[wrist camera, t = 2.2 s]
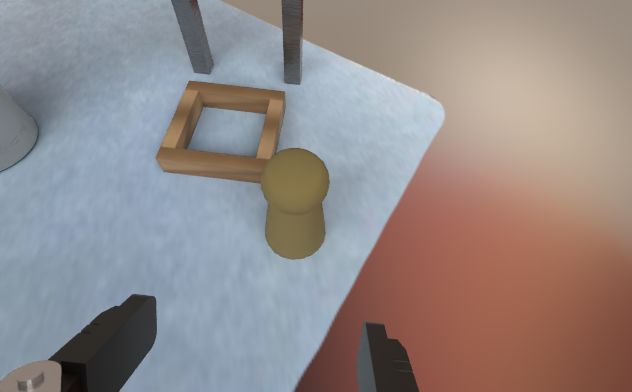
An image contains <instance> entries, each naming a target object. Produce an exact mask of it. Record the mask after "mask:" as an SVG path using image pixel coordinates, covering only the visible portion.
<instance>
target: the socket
mask: <svg viewBox="0 0 632 392" xmlns="http://www.w3.org/2000/svg"><path fill="white" fill-rule="evenodd" d="M203 107H212V108H220V109H229V110H238V111H246V112H255V113H263V114H266V119H265V123H264V127H263V131H262V135H261V139H260V143H259V147H258V151H257V155H256V158H254V157H246V156H237V155H229V154H220V153H212V152H203V151H195V150H187V148H188V145H189V143H190V140H191V137H192V135H193V132H194V129H195V127H196V124H197V121H198V119H199V116H200V114H201V111H202V108H203ZM284 112H285V92H283V91H275V90H266V89H258V88H249V87H240V86H232V85H223V84H214V83H206V82H197V81H189V82H188V84H187V87H186V89H185V91H184V94H183V96H182V98H181V100H180V103H179V105H178V107H177V110H176V112H175V114H174V117H173V119H172V121H171V124H170V126H169V128H168V131H167V133H166V135H165V137H164V140H163V142H162V144H161V147H160V149H159V151H158V154H157V156H156V160H157V161H158V163H159V164H160V166H161V168H162V169H163V171H164V172H170V173H178V174H187V175H195V176H204V177H212V178H221V179H229V180H238V181H246V182H255V183H261V174H262V171H263V168H264V166H265V164H266V163H267V161H268V160H269V159H270V158H271V157H272V156H273V155H275V154H276V150H277V145H278V141H279V136H280V131H281V126H282V121H283V117H284Z"/></svg>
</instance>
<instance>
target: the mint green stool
mask: <svg viewBox="0 0 632 392" xmlns="http://www.w3.org/2000/svg"><path fill="white" fill-rule="evenodd" d="M171 1H172V4H173V7H174V10H175V14H176V17H177V20H178V23H179V26H180V29H181V32H182V35H183V38H184V41H185V45H186V48H187V51H188V54H189V57H190V60H191V63H192V66H193V69H194V72H195V73H203V74H210V72H211V69H212V67H213V60H212V56H211V53H210V49H209V45H208V41H207V37H206V33H205V29H204V25H203V21H202V17H201V13H200V10H199V6H198V2H197V0H171ZM282 21H283V49H284V77H285V83H289V84H298V85H300V81H301V76H302V32H303V29H302V28H303V0H282Z"/></svg>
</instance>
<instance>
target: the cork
mask: <svg viewBox="0 0 632 392" xmlns="http://www.w3.org/2000/svg"><path fill="white" fill-rule="evenodd" d="M261 188H262V191H263V194H264V197H265V199H266V200H267V201H268V202H269V203H268V211H267V219H266V227H265V236H266V239H267V242H268V245H269V246H270V247H271V248H272V250H273V251H274V252H275V253H277V254H278V255H280V256H282V257H284V258H288V259H303V258H305V257H308V256H311V255H312V254H313V253H315V252H316V251H317V250H318V249H319V248H320V246H321V245H322V243H323V241H324V237H325V224H324V216H323V208H322V201H323V200H324V198H325V197H326V195H327V191H328V188H329V174H328V170H327V168H326V166H325V164H324V162H323V161H322V160H321V159H320V158H319V157H318V156H317V155H315V154H314V153H312V152H310V151H308V150H305V149H300V148H289V149H285V150H282V151H280V152H278V153H277V154H275V155H273V156H272V157H271V158H270V159H269V160H268V161H267V163H266V164H265V166H264V168H263V171H262V174H261Z"/></svg>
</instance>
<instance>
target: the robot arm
mask: <svg viewBox="0 0 632 392" xmlns="http://www.w3.org/2000/svg"><path fill="white" fill-rule="evenodd" d="M37 135H38V128H37V125H36V123H35V121H34V120H33V119H32V118H31V117H30V116H29V115H28V114H27V113H26V112H25V111H24V110H23V109H22V108H21V107H20V106H19V105H18V104H17V103H16V102H15V100H14V99H13V98H12V97H11V96H10V95H9V94H8V93H7V92H6V91H5V90H4V89H3V88H2V87H1V86H0V171H2V170H4V169H6V168H8V167H10V166H12V165H14V164H15V163H16V162H18V161H19V160H21V159H22V158H23V157H24V156H25V155H26V154H27V153H28V152H29V151H30V150H31V148H32V147H33V146H34V144H35V142H36V140H37ZM156 334H157V317H156V299H155V297H154V296H147V295H138V294H133V295H131V296H130V297H129V298H128V299H127V300H126V301H125V302H123V303H122V304H121V305H120V306H114V307H112V308H110V309H108V310H106V311H104V312H102V313H101V314H100V315H98V316H97V317H96V318H95V319H94V320H93V321H92V322H90V325H87V326H86V327H85V328H84V329H82V330H81V333H78V334H77V335H76V336H75V337H73V338H72V339H71V340H70V341H69V342H68V343H67V344H65V345H64V346H63V347H62V348H61V349H60V350H59V351H58V352H56V353H55V354H54V355H53V356H52V357H51V358H50V359H48V360H46V361H37V362H33V363H30V364H27V365H24V366H22V367H20V368H18V369H16V370H14V371H12V372H11V373H10V374H8V375H7V376H6V377H5V378H4V379H3V380H2V381H0V392H119V391H120V389H121V388H122V387H123V385H124V384H125V383H126V381H127V380H128V379H129V377H130V376H131V375H132V373H133V372H134V371H135V369H136V368H137V367H138V365H139V364H140V363H141V361H142V360H143V359H144V357H145V356H146V355H147V353H148V352H149V351H150V349H151V348H152V346H153V344H154V342H155V339H156ZM357 377H358V387H359V392H419V390H418V387H417V383H416V380H415V377H414V374H413V371H412V367H411V364H410V361H409V358H408V355H407V352H406V349H405V348H404V347H403V346H402V345H401V343H400V342H399V341H398V340H396V339H388V338H387V334H386V331H385V326H384V324H380V323H372V322H364V323H363V327H362V333H361V339H360V345H359V351H358V359H357Z"/></svg>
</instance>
